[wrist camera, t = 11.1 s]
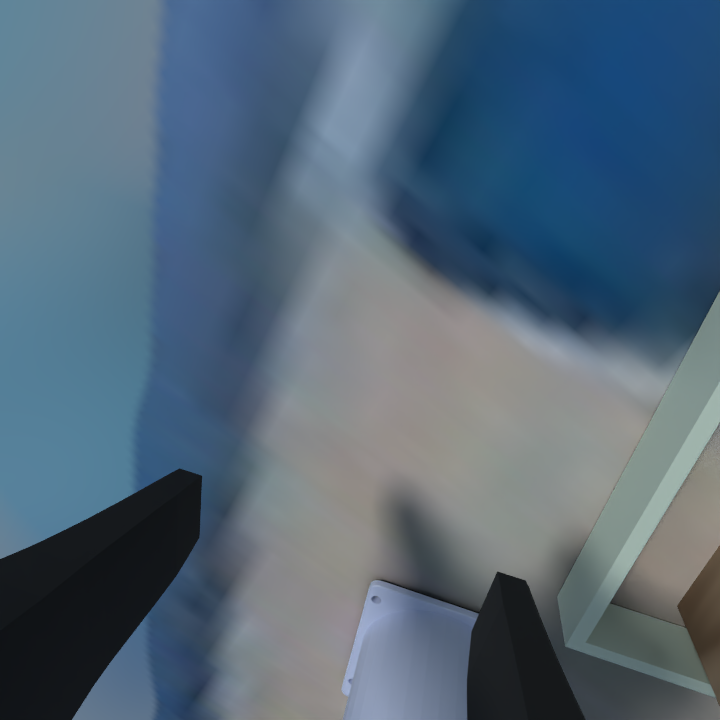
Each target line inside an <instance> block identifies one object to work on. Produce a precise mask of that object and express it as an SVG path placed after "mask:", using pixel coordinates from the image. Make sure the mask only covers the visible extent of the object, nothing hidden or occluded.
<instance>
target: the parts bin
mask: <svg viewBox="0 0 720 720" xmlns="http://www.w3.org/2000/svg"><path fill="white" fill-rule="evenodd" d="M719 423H720V292H719V293H718V295H717V297H716V299H715V301H714V303H713V305H712V307H711V308H710V310H709V312H708V314H707V316H706V318H705V320H704V322H703V324H702V325H701V327H700V329H699V331H698V333H697V335H696V337H695V339H694V340H693V342H692V344H691V346H690V348H689V350H688V352H687V354H686V355H685V357H684V359H683V361H682V363H681V365H680V367H679V369H678V370H677V372H676V374H675V376H674V378H673V380H672V382H671V384H670V385H669V387H668V389H667V391H666V393H665V395H664V397H663V399H662V400H661V402H660V404H659V406H658V408H657V410H656V412H655V414H654V416H653V417H652V419H651V421H650V423H649V425H648V427H647V429H646V431H645V432H644V434H643V436H642V438H641V440H640V442H639V444H638V446H637V447H636V449H635V451H634V453H633V455H632V457H631V459H630V461H629V462H628V464H627V466H626V468H625V470H624V472H623V474H622V476H621V477H620V479H619V481H618V483H617V485H616V487H615V489H614V491H613V492H612V494H611V496H610V498H609V500H608V502H607V504H606V506H605V507H604V509H603V511H602V513H601V515H600V517H599V519H598V521H597V523H596V524H595V526H594V528H593V530H592V532H591V534H590V536H589V538H588V539H587V541H586V543H585V545H584V547H583V549H582V551H581V553H580V554H579V556H578V558H577V560H576V562H575V564H574V566H573V568H572V569H571V571H570V573H569V575H568V577H567V579H566V581H565V583H564V584H563V586H562V588H561V590H560V592H559V594H558V596H557V599H558V606H559V612H560V618H561V624H562V630H563V636H564V643H565V647H568V648H571V649H573V650H576V651H579V652H582V653H585V654H588V655H591V656H594V657H597V658H600V659H603V660H606V661H609V662H612V663H615V664H618V665H621V666H624V667H626V668H629V669H632V670H635V671H638V672H641V673H644V674H647V675H650V676H653V677H656V678H659V679H662V680H665V681H668V682H671V683H674V684H677V685H680V686H682V687H685V688H688V689H691V690H694V691H697V692H700V693H703V694H706V695H709V696H712V697H715V698H716V696H715V694H714V691H713V689H712V687H711V684H710V682H709V680H708V677H707V675H706V673H705V670H704V668H703V666H702V663H701V661H700V658H699V656H698V654H697V651H696V649H695V647H694V644H693V642H692V640H691V637H690V635H689V633H688V630H687V628H685V627H682V626H679V625H675V624H672V623H669V622H666V621H663V620H660V619H657V618H654V617H651V616H648V615H644V614H641V613H638V612H635V611H632V610H629V609H626V608H623V607H620V606H617V605H613V604H610V601H611V600H612V598H613V597H614V595H615V593H616V592H617V590H618V588H619V587H620V585H621V583H622V582H623V580H624V578H625V577H626V575H627V574H628V572H629V570H630V569H631V567H632V565H633V564H634V562H635V560H636V559H637V557H638V556H639V554H640V552H641V551H642V549H643V547H644V546H645V544H646V542H647V541H648V539H649V537H650V536H651V534H652V533H653V531H654V529H655V528H656V526H657V524H658V523H659V521H660V519H661V518H662V516H663V514H664V513H665V511H666V510H667V508H668V506H669V505H670V503H671V501H672V500H673V498H674V496H675V495H676V493H677V492H678V490H679V488H680V487H681V485H682V483H683V482H684V480H685V478H686V477H687V475H688V473H689V472H690V470H691V469H692V467H693V465H694V464H695V462H696V460H697V459H698V457H699V455H700V454H701V452H702V450H703V449H704V447H705V446H706V444H707V442H708V441H709V439H710V437H711V436H712V434H713V432H714V431H715V429H716V427H717V426H718V424H719Z"/></svg>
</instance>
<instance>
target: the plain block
mask: <svg viewBox="0 0 720 720" xmlns="http://www.w3.org/2000/svg"><path fill="white" fill-rule="evenodd" d="M677 607H678V609H679V611H680V614H681V616H682V618H683V621H684V623H685V626H686V628H687V630H688V633H689V635H690V637H691V640H692V642H693V644H694V647H695V649H696V651H697V654H698V656H699V658H700V661H701V663H702V666H703V668H704V670H705V673H706V675H707V677H708V680H709V682H710V684H711V687H712V689H713V691H714V694H715V696H716V698H717V701H718V703H719V706H720V546H719V547H718V549H717V550H716V551H715V553H714V554H713V556H712V557H711V559H710V560H709V561H708V563H707V564H706V566H705V567H704V569H703V570H702V571H701V573H700V574H699V576H698V577H697V578H696V580H695V581H694V583H693V584H692V586H691V587H690V588H689V590H688V591H687V593H686V594H685V596H684V597H683V598H682V600H681V601H680V603H679V604H678V606H677Z"/></svg>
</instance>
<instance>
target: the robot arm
mask: <svg viewBox="0 0 720 720" xmlns="http://www.w3.org/2000/svg"><path fill="white" fill-rule="evenodd" d="M201 487H202V476H201V475H198V474H195V473H192V472H188V471H185V470H182V469H178V470H176V471H174V472H172V473H170V474H169V475H167V476H165V477H163V478H161V479H159V480H158V481H156V482H154V483H152V484H150V485H149V486H147V487H145V488H143V489H141V490H140V491H138V492H136V493H134V494H132V495H131V496H129V497H127V498H125V499H123V500H122V501H120V502H118V503H116V504H114V505H112V506H110V507H109V508H107V509H105V510H103V511H101V512H99V513H97V514H96V515H94V516H92V517H90V518H88V519H86V520H84V521H82V522H80V523H78V524H76V525H74V526H72V527H70V528H68V529H66V530H64V531H62V532H60V533H58V534H56V535H54V536H52V537H49V538H47V539H45V540H43V541H41V542H39V543H37V544H35V545H32V546H30V547H28V548H26V549H23V550H21V551H19V552H16V553H14V554H12V555H9V556H7V557H5V558H2V559H0V720H72V718H73V717H74V715H75V714H76V712H77V711H78V709H79V708H80V706H81V704H82V703H83V701H84V700H85V698H86V697H87V695H88V693H89V692H90V691H91V689H92V687H93V686H94V684H95V683H96V682H97V680H98V679H99V677H100V676H101V674H102V673H103V672H104V670H105V669H106V668H107V666H108V665H109V663H110V662H111V661H112V659H113V658H114V657H115V655H116V654H117V653H118V652H119V650H120V649H121V647H122V646H123V645H124V644H125V642H126V641H127V640H128V639H129V637H130V636H131V635H132V633H133V632H134V631H135V629H136V628H137V627H138V626H139V624H140V623H141V622H142V620H143V619H144V618H145V616H146V615H147V614H148V613H149V611H150V610H151V609H152V607H153V606H154V605H155V603H156V602H157V601H158V599H159V598H160V597H161V596H162V594H163V593H164V592H165V590H166V589H167V588H168V586H169V585H170V584H171V582H172V581H173V580H174V578H175V577H176V575H177V574H178V572H179V571H180V569H181V567H182V566H183V564H184V562H185V561H186V559H187V558H188V556H189V554H190V552H191V551H192V549H193V547H194V546H195V544H196V542H197V540H198V539H199V534H200V510H201ZM376 596H378V597H376ZM342 692H343V693H344V694H345V695H346V696H348V701H347V705H346V709H345V713H344V717H343V720H585V718H584V716H583V713H582V711H581V709H580V707H579V705H578V703H577V701H576V699H575V697H574V695H573V692H572V690H571V688H570V686H569V683H568V681H567V679H566V677H565V675H564V672H563V670H562V668H561V666H560V664H559V661H558V659H557V657H556V654H555V652H554V650H553V647H552V645H551V642H550V640H549V638H548V635H547V633H546V630H545V628H544V625H543V623H542V620H541V618H540V615H539V613H538V610H537V608H536V605H535V602H534V600H533V597H532V594H531V592H530V589H529V586H528V585H527V583H526V581H525V580H522V579H519V578H516V577H513V576H510V575H506V574H503V573H500V572H497V574H496V576H495V578H494V581H493V583H492V585H491V588H490V590H489V592H488V594H487V597H486V599H485V601H484V604H483V606H482V608H481V610H480V613H479V614H478V613H475V612H472V611H469V610H467V609H464V608H461V607H458V606H455V605H452V604H449V603H446V602H443V601H440V600H437V599H434V598H431V597H428V596H425V595H422V594H419V593H416V592H413V591H410V590H407V589H404V588H402V587H399V586H396V585H393V584H390V583H387V582H384V581H380V580H375V581H372V582H371V584H370V587H369V590H368V594H367V598H366V601H365V605H364V608H363V612H362V616H361V619H360V623H359V627H358V630H357V634H356V638H355V641H354V645H353V649H352V652H351V656H350V660H349V663H348V667H347V670H346V674H345V678H344V681H343V685H342Z"/></svg>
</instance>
